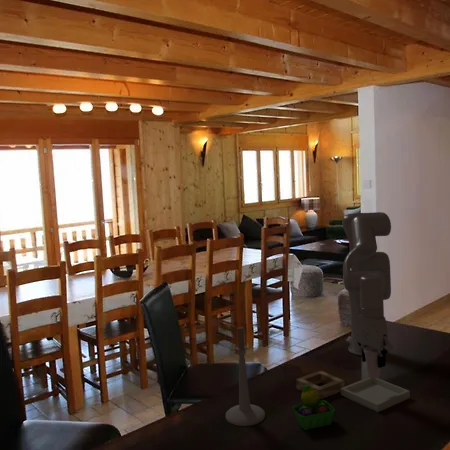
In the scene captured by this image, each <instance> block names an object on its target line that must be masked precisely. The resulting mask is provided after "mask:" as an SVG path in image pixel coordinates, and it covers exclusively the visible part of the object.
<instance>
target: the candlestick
mask: <svg viewBox="0 0 450 450" xmlns="http://www.w3.org/2000/svg"><path fill="white" fill-rule="evenodd" d="M236 333H237V335H236V336H237V346H236V347H235V350H237V355H238V356H239V357H238V358H239V359H238V395H239V396H238V398H239V399H238V403H239V404H237V405H234V406H232V407H230V408H229V409H228V410H227V411H226V412H225V420H226V422H228V423H229V424H232V425H234V426H239V427H247V426H248V427H249V426H254V425H257V424H259V423H261V422H263V420H265V417H266V413H265V409H263V408H262V407H260V406H259V405H255V404H251V399H250V394H249V393H250V392H249V385H248V384H249V383H248V375H247V365H246V358H245V354H246V352H247V351H246V350H247V349H248V347H247V346H245V335H244V327H243V326H238V327H237V328H236Z"/></svg>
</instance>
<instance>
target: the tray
mask: <svg viewBox="0 0 450 450" xmlns="http://www.w3.org/2000/svg"><path fill="white" fill-rule="evenodd" d="M340 389H341V392H340V396H341V395H342V397H343V396H344V397H343V398H345V397H346V398H345V399H347V398H348V400H350V401H352V402H354V403H357V404H358V405H360V406H363V407H364V408H367V409H368V410H371V411H373V412H375V413H379V412H382V411H384V410H386V409H388V408H390V407H393V406H396V405H398V404H400V403H402V402H404V401H406V400H408V399H410V398H411V397H410V396H411V393H410V390H409V389H406V388H403V387H400V386H399V385H396V384H393V383H390V382H388V381H386V380H383V379H380V378H377V379H372V378H369V377H367V378H364V379H362V380H358V381H355V382H354V383H351V384H348V385H346V386H345V387H343V388H340Z"/></svg>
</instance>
